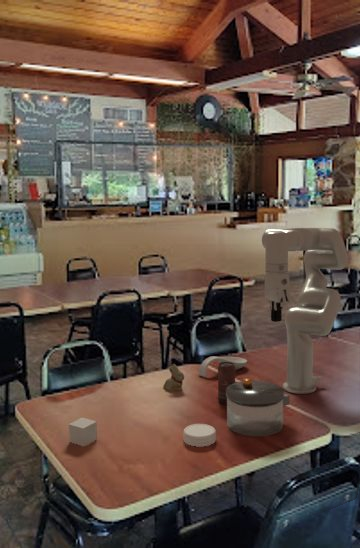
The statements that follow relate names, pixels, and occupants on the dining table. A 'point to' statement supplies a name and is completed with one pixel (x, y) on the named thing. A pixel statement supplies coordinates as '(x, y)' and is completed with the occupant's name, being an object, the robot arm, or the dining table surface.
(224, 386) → the can
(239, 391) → the lid
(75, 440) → the light grey cube
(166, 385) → the chocolate bunny
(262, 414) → the round storage jar
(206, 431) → the white short cylinder
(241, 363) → the spoon rest
